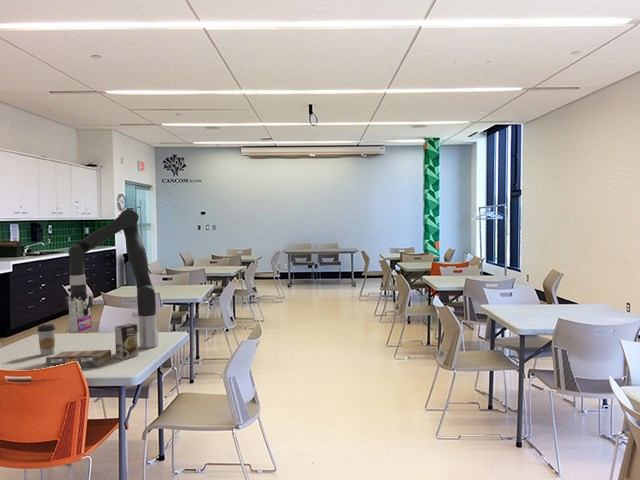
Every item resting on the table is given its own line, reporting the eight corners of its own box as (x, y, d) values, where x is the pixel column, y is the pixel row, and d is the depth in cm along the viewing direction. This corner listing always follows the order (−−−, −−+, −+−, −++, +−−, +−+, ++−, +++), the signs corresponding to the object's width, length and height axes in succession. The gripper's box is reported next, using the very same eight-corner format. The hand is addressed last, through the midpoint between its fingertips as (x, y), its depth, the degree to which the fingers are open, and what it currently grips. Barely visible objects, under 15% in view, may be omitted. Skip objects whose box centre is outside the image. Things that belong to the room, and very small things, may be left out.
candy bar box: (83, 327, 282) (81, 296, 281) (92, 327, 281) (90, 296, 280) (69, 332, 271) (67, 300, 270) (78, 332, 270) (76, 299, 269)
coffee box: (124, 360, 263) (122, 327, 263) (115, 358, 267) (114, 326, 266) (139, 355, 271) (137, 324, 270) (130, 354, 275) (129, 323, 274)
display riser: (111, 357, 269) (110, 346, 269) (97, 367, 251) (97, 355, 251) (63, 359, 268) (62, 348, 268) (46, 369, 251) (45, 357, 251)
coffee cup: (38, 356, 275) (37, 328, 275) (38, 353, 283) (37, 325, 282) (56, 354, 279) (55, 326, 279) (56, 351, 287) (54, 323, 286)
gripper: (95, 282, 279) (97, 314, 279) (67, 283, 278) (69, 315, 279) (89, 284, 271) (91, 317, 272) (60, 285, 271) (62, 318, 272)
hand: (80, 316), depth 276 cm, fingers closed on candy bar box, 5 cm apart
